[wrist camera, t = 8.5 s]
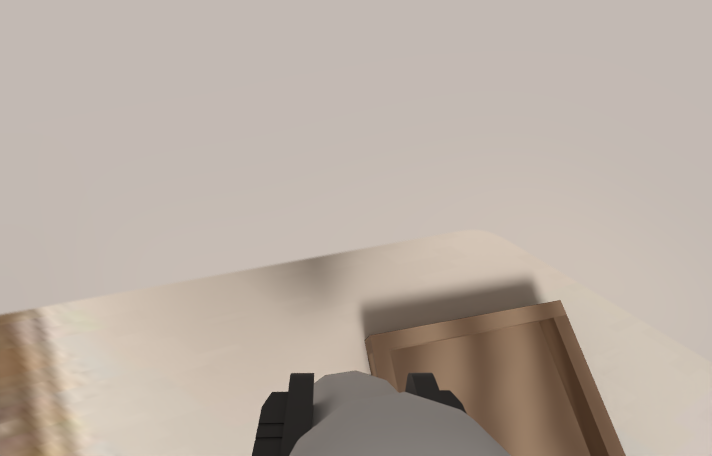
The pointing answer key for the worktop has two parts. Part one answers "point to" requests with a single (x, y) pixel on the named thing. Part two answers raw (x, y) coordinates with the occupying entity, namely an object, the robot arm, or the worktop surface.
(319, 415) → the salt shaker
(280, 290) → the worktop surface
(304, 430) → the robot arm
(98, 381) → the worktop surface
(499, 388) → the walnut tray
